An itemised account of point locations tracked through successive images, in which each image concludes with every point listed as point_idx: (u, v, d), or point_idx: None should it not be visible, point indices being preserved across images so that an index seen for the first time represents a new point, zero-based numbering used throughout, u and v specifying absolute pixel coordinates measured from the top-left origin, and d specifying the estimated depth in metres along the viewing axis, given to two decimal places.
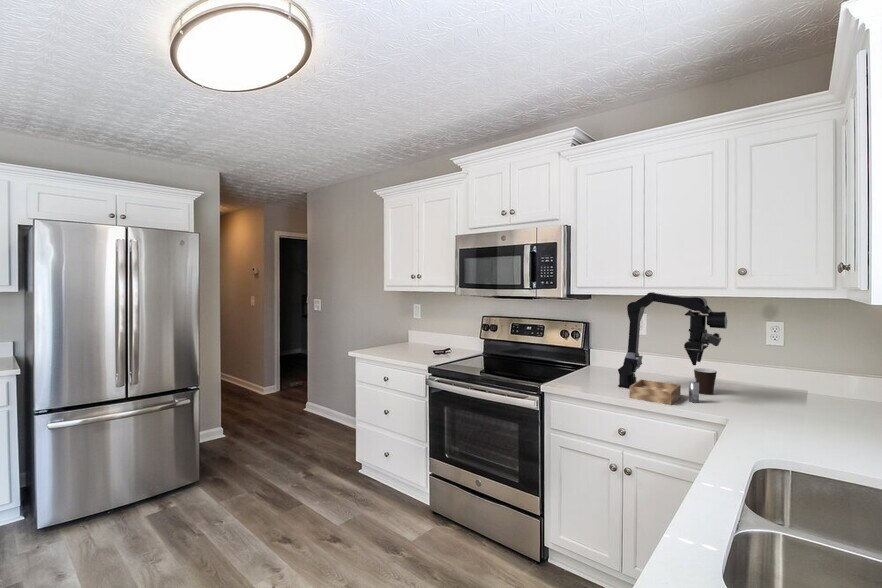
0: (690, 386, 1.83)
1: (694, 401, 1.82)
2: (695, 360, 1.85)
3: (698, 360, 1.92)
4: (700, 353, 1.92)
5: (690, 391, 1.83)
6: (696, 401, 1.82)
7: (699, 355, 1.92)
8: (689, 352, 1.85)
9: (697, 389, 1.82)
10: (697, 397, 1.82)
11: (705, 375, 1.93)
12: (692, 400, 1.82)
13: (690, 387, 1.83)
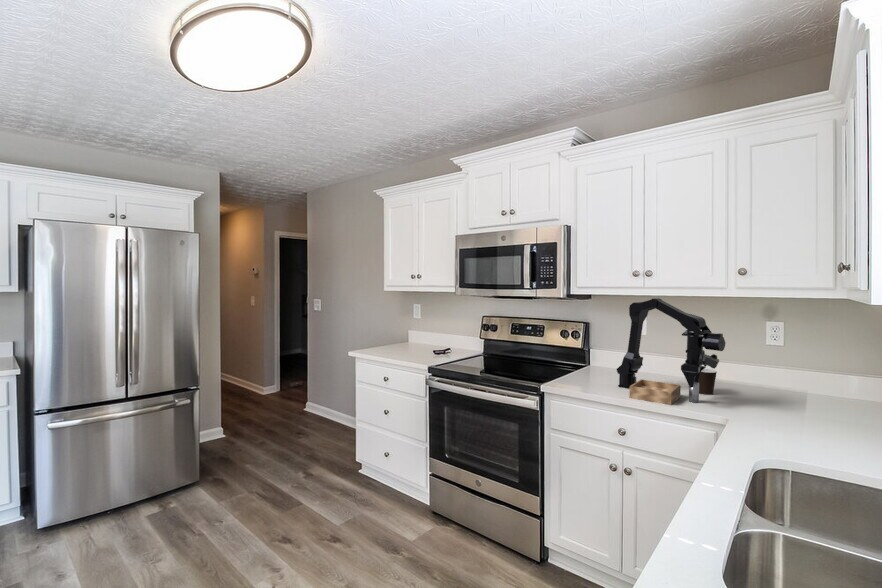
0: None
1: (694, 401, 1.82)
2: (692, 383, 1.79)
3: (695, 381, 1.87)
4: (697, 374, 1.86)
5: (690, 391, 1.83)
6: (696, 401, 1.82)
7: (696, 376, 1.87)
8: (686, 374, 1.79)
9: (697, 389, 1.82)
10: (697, 397, 1.82)
11: (705, 375, 1.93)
12: (692, 400, 1.82)
13: None
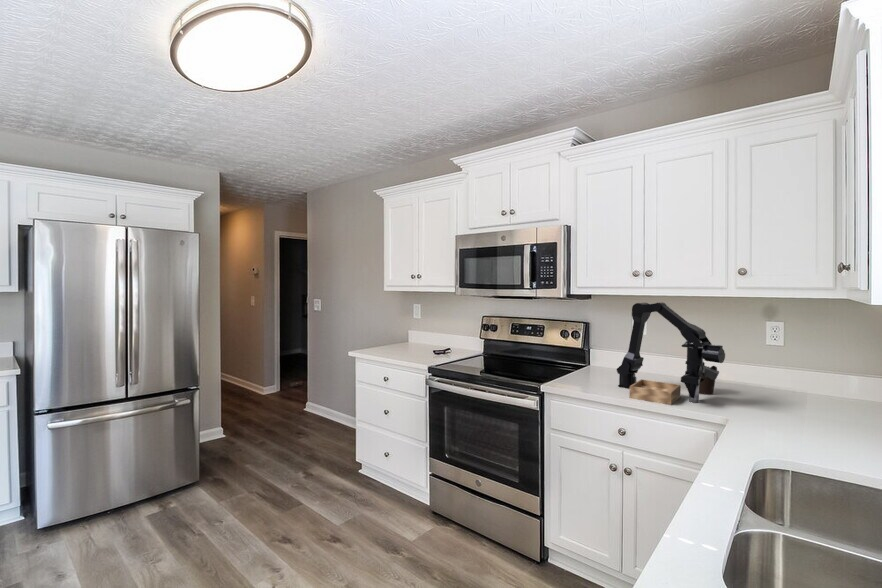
0: None
1: (694, 401, 1.82)
2: (694, 393, 1.81)
3: None
4: None
5: None
6: (696, 401, 1.82)
7: None
8: (687, 384, 1.81)
9: (697, 389, 1.82)
10: (697, 397, 1.82)
11: None
12: (692, 400, 1.82)
13: None
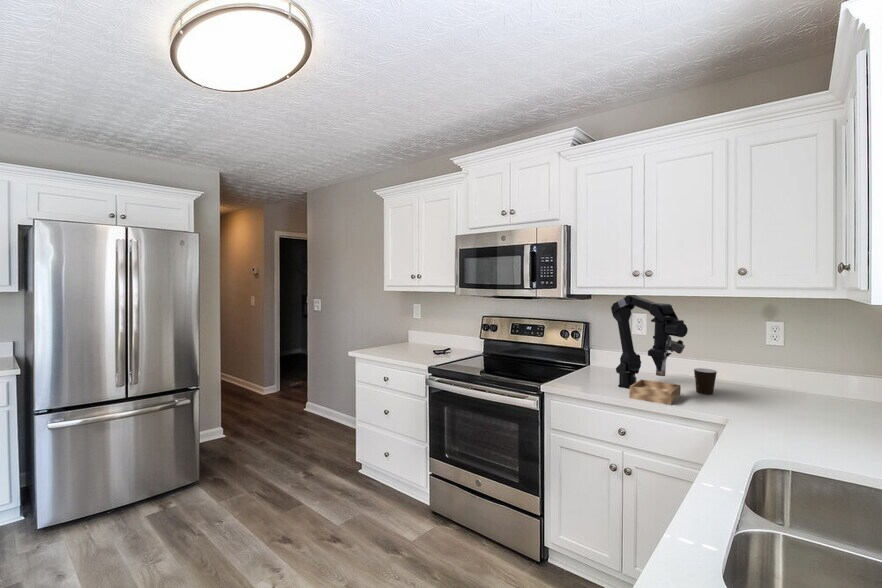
0: None
1: (661, 374, 1.87)
2: (660, 367, 1.87)
3: None
4: None
5: None
6: (663, 374, 1.87)
7: None
8: (654, 358, 1.87)
9: (664, 363, 1.87)
10: (664, 370, 1.87)
11: (705, 375, 1.93)
12: (659, 373, 1.88)
13: None
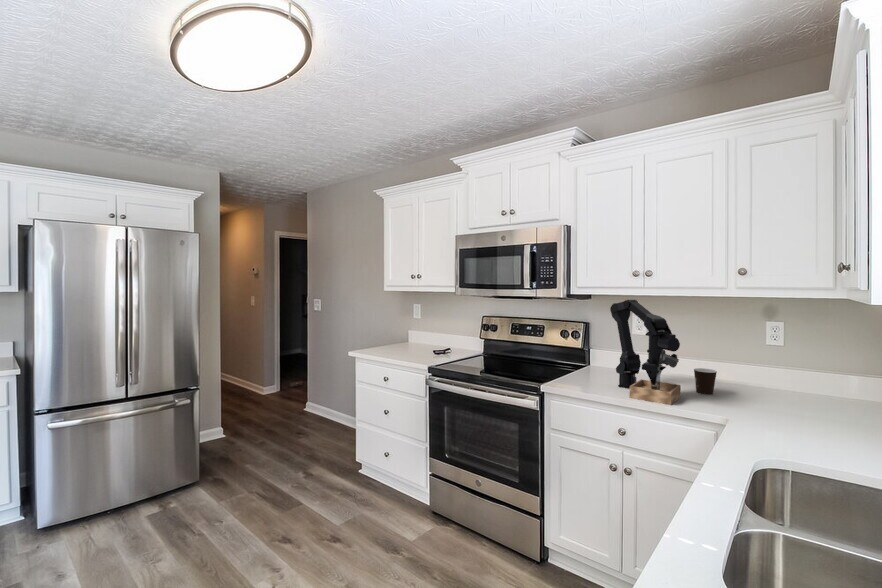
0: None
1: (655, 388, 1.88)
2: (655, 380, 1.88)
3: None
4: None
5: None
6: (657, 387, 1.88)
7: None
8: (648, 372, 1.88)
9: (658, 376, 1.88)
10: (658, 384, 1.88)
11: (705, 375, 1.93)
12: (653, 387, 1.89)
13: None
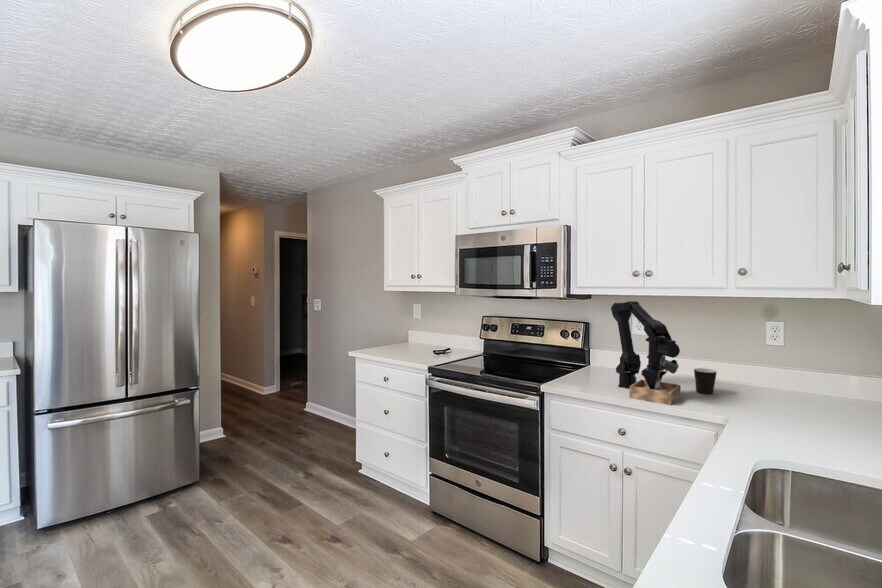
0: None
1: None
2: (653, 387, 1.86)
3: None
4: None
5: None
6: None
7: None
8: (647, 379, 1.87)
9: (658, 385, 1.88)
10: None
11: (705, 375, 1.93)
12: None
13: None
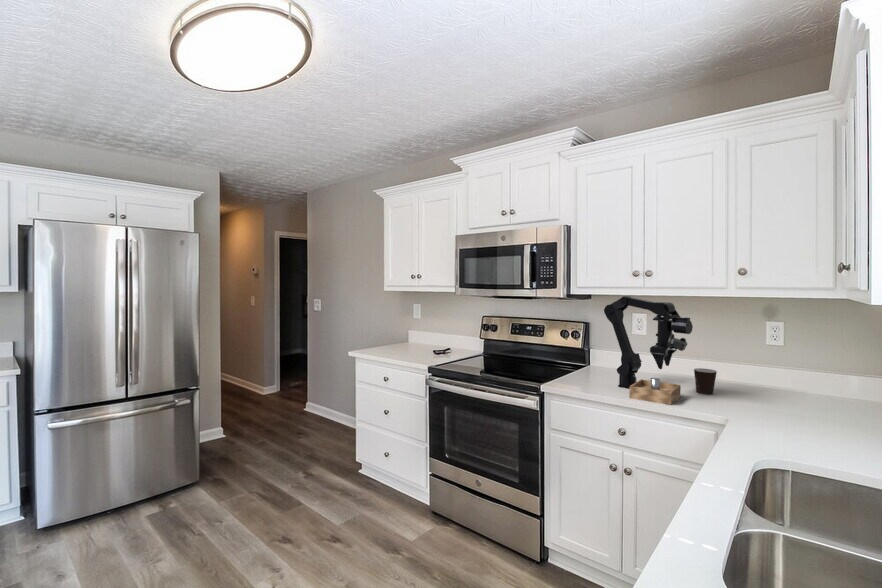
0: (651, 382, 1.90)
1: None
2: (661, 364, 1.89)
3: (666, 364, 1.97)
4: (668, 357, 1.97)
5: (651, 387, 1.90)
6: None
7: (667, 359, 1.97)
8: (655, 356, 1.90)
9: (658, 385, 1.88)
10: None
11: (705, 375, 1.93)
12: None
13: (651, 383, 1.90)
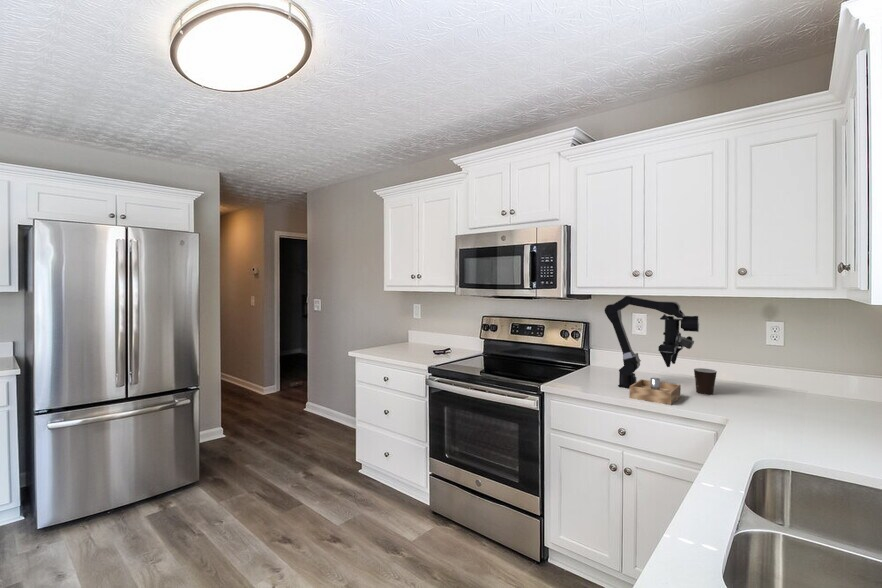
0: (651, 382, 1.90)
1: None
2: (669, 362, 1.93)
3: (673, 362, 2.01)
4: (675, 355, 2.01)
5: (651, 387, 1.90)
6: None
7: (674, 357, 2.01)
8: (663, 354, 1.94)
9: (658, 385, 1.88)
10: None
11: (705, 375, 1.93)
12: None
13: (651, 383, 1.90)
